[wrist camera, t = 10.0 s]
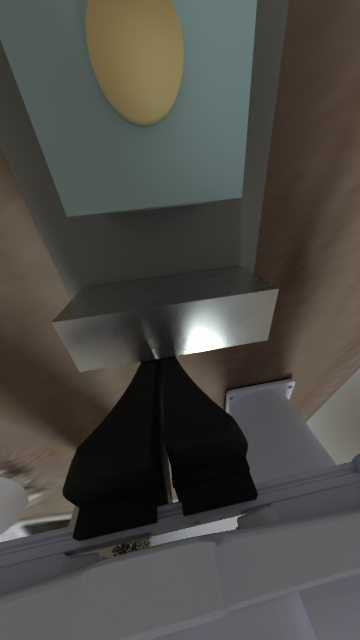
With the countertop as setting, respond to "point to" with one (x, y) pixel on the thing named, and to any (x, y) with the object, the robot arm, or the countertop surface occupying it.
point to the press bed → (155, 224)
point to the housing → (135, 97)
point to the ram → (166, 317)
